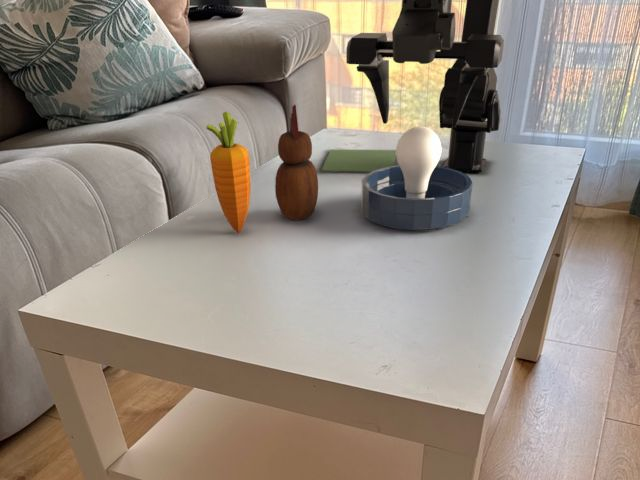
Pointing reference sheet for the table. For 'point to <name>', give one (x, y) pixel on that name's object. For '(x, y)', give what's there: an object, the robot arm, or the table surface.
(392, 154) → the napkin
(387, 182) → the bowl
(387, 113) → the robot arm
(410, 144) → the lightbulb
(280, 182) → the wooden figurine
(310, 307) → the table surface
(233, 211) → the carrot
